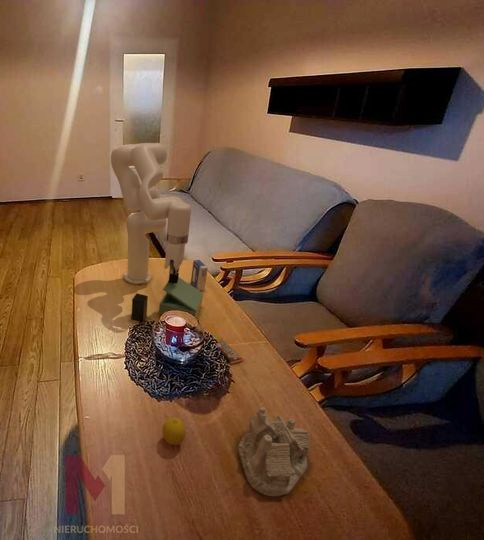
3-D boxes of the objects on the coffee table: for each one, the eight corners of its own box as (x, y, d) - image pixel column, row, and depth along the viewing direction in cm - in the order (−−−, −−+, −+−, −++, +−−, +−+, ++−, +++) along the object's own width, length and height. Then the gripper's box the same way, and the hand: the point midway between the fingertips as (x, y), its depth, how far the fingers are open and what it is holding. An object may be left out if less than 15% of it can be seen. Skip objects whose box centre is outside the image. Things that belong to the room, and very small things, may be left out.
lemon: (159, 433, 90) (161, 411, 86) (180, 431, 91) (183, 409, 87) (164, 452, 85) (167, 431, 82) (186, 450, 86) (190, 429, 82)
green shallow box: (158, 316, 135) (159, 303, 132) (168, 299, 145) (169, 288, 142) (193, 325, 130) (195, 312, 127) (201, 307, 139) (202, 295, 137)
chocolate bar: (210, 343, 120) (210, 342, 120) (222, 340, 121) (222, 338, 121) (231, 364, 111) (231, 363, 111) (243, 361, 112) (244, 359, 112)
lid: (162, 289, 129) (163, 288, 129) (172, 274, 139) (173, 273, 138) (195, 312, 127) (196, 310, 126) (202, 295, 137) (203, 293, 136)
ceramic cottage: (244, 490, 77) (262, 445, 70) (233, 429, 91) (247, 386, 84) (320, 508, 74) (347, 463, 67) (297, 441, 89) (317, 399, 82)
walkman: (190, 283, 156) (193, 259, 151) (196, 282, 157) (199, 258, 151) (198, 292, 150) (201, 267, 144) (204, 291, 150) (208, 267, 144)
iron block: (135, 314, 136) (136, 293, 131) (146, 317, 134) (147, 295, 130) (131, 321, 133) (132, 299, 128) (142, 324, 131) (143, 301, 126)
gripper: (172, 229, 132) (169, 271, 140) (160, 243, 120) (157, 289, 128) (192, 232, 128) (187, 275, 137) (182, 247, 117) (177, 293, 125)
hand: (173, 282), depth 133 cm, fingers closed
